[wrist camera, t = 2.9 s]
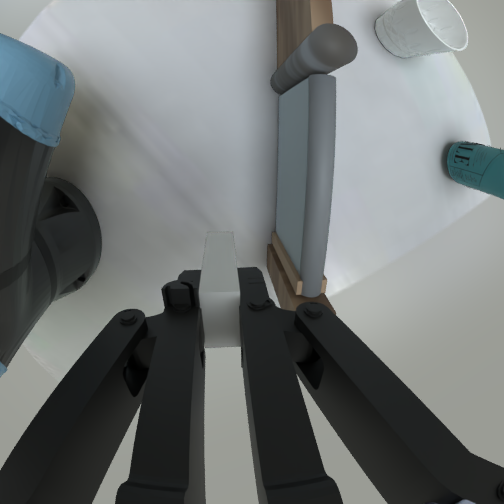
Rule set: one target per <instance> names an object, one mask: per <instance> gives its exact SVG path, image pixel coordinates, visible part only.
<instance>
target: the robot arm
mask: <svg viewBox="0 0 504 504" xmlns="http://www.w3.org/2000/svg"><path fill="white" fill-rule="evenodd" d="M74 91H75V80H74V77H73V74H72V72H71V71H70V70H69V69H68V67H66V66H65V65H64V64H62V63H61V62H59V61H57V60H56V59H54V58H52V57H51V56H49V55H47V54H45V53H43V52H41V51H39V50H37V49H35V48H33V47H31V46H29V45H27V44H25V43H23V42H20V41H18V40H16V39H13V38H11V37H9V36H6V35H4V34H1V33H0V377H1V376H2V375H3V373H5V372H6V371H7V366H8V365H9V363H10V361H11V360H12V358H13V357H14V355H15V354H16V352H17V350H18V349H19V347H20V346H21V344H22V343H23V341H24V340H25V338H26V337H27V335H28V334H29V333H30V331H31V330H32V328H33V327H34V325H35V324H36V323H37V321H38V320H39V319H40V317H41V316H42V314H43V313H44V312H45V310H46V309H47V308H48V307H49V305H50V304H51V303H52V302H53V301H55V300H58V299H60V298H62V297H64V296H66V295H68V294H70V293H73V292H75V291H77V290H78V289H79V288H81V287H82V286H83V285H84V284H85V283H86V282H87V281H88V279H89V278H90V277H91V275H92V274H93V273H94V271H95V270H96V268H97V265H98V263H99V260H100V255H101V233H100V228H99V224H98V221H97V218H96V215H95V213H94V211H93V209H92V207H91V205H90V203H89V202H88V200H87V199H86V198H85V196H84V195H83V194H82V193H81V192H80V191H79V190H78V189H77V188H76V187H75V186H73V185H72V184H70V183H69V182H67V181H65V180H62V179H59V178H53V177H49V178H45V177H46V173H47V170H48V167H49V163H50V160H51V157H52V154H53V151H54V148H55V147H56V146H58V145H59V142H60V139H61V138H60V131H61V128H62V125H63V122H64V119H65V117H66V114H67V111H68V108H69V106H70V103H71V101H72V98H73V95H74ZM161 290H162V295H163V301H164V306H165V309H164V312H163V313H161V314H158V315H155V316H150V317H145V314H144V313H143V312H142V311H141V310H138V309H126V310H123V311H121V312H119V313H117V314H116V315H115V316H114V317H113V318H112V319H111V320H110V322H109V323H108V324H107V325H106V326H105V327H104V329H103V330H102V331H101V332H100V333H99V335H98V336H97V337H96V338H95V339H94V341H93V342H92V343H91V344H90V345H89V347H88V348H87V349H86V350H85V351H84V353H83V354H82V355H81V356H80V358H79V359H78V360H77V361H76V363H75V364H74V365H73V366H72V368H71V369H70V370H69V372H68V373H67V374H66V375H65V377H64V378H63V379H62V381H61V382H60V383H59V384H58V386H57V387H56V388H55V390H54V391H53V392H52V394H51V395H50V397H49V398H48V399H47V401H46V402H45V403H44V405H43V406H42V407H41V409H40V410H39V412H38V413H37V415H36V416H35V417H34V419H33V420H32V422H31V423H30V425H29V426H28V427H27V429H26V430H25V432H24V433H23V435H22V436H21V438H20V440H19V441H18V443H17V444H16V446H15V447H14V449H13V450H12V452H11V454H10V455H9V457H8V458H7V460H6V462H5V464H4V465H3V467H2V468H1V470H0V504H92V502H93V500H94V498H95V496H96V493H97V491H98V489H99V487H100V485H101V483H102V481H103V479H104V477H105V474H106V472H107V470H108V468H109V466H110V464H111V462H112V460H113V458H114V456H115V454H116V452H117V450H118V448H119V445H120V444H121V442H122V439H123V438H124V436H125V434H126V432H127V429H128V428H129V426H130V423H131V422H132V420H133V418H134V416H135V414H136V412H137V410H138V408H139V406H140V404H141V408H140V413H139V419H138V424H137V430H136V435H135V441H134V447H133V454H132V460H131V467H130V474H129V478H128V480H127V481H126V482H124V483H122V484H121V485H120V487H119V488H118V491H117V495H116V501H115V504H206V499H205V468H204V467H205V466H204V392H205V391H204V389H205V350H204V342H205V348H215V347H240V346H241V365H242V366H241V367H242V368H243V377H244V386H245V396H246V405H247V414H248V423H249V431H250V439H251V448H252V456H253V463H254V471H255V479H256V486H257V494H258V500H259V504H343V502H342V498H341V495H340V492H339V489H338V487H337V484H336V483H335V481H334V480H333V479H332V478H331V477H329V476H328V475H327V474H326V472H325V470H324V467H323V464H322V460H321V456H320V453H319V450H318V446H317V443H316V439H315V436H314V433H313V429H312V426H311V422H310V419H309V415H308V412H307V409H306V405H305V402H304V398H303V395H302V392H301V388H300V385H299V382H298V378H297V375H298V377H299V378H300V380H301V381H302V383H303V384H304V386H305V387H306V389H307V390H308V392H309V393H310V395H311V396H312V398H313V399H314V401H315V402H316V404H317V405H318V407H319V408H320V410H321V411H322V413H323V414H324V415H325V417H326V418H327V420H328V421H329V423H330V424H331V426H332V427H333V429H334V430H335V431H336V433H337V434H338V436H339V437H340V438H341V440H342V442H343V443H344V444H345V446H346V447H347V448H348V450H349V451H350V453H351V454H352V456H353V457H354V458H355V460H356V461H357V463H358V464H359V465H360V467H361V468H362V470H363V471H364V472H365V474H366V475H367V476H368V478H369V479H370V481H371V482H372V483H373V485H374V486H375V487H376V489H377V490H378V491H379V493H380V494H381V495H382V497H383V498H384V499H385V501H386V502H387V503H388V504H504V468H503V467H501V466H498V465H496V464H494V463H492V462H489V461H487V460H485V459H483V458H481V457H478V456H476V455H474V454H472V453H470V452H469V451H468V450H467V449H466V447H465V446H464V445H463V444H462V443H461V442H460V441H459V440H458V439H457V438H456V437H455V436H454V435H453V434H452V433H451V432H450V430H449V429H448V428H447V427H446V426H445V425H444V424H443V423H442V422H441V421H440V420H439V419H438V418H437V417H436V416H435V415H434V414H433V413H432V412H431V411H430V410H429V409H428V408H427V407H426V406H425V404H424V403H423V402H422V401H421V400H420V399H419V398H418V397H417V396H416V395H415V394H414V393H413V392H412V391H411V390H410V389H409V388H408V387H407V386H406V385H405V384H404V383H403V382H402V381H401V380H400V379H399V378H398V377H397V376H396V375H395V374H394V373H393V372H392V371H391V370H390V369H389V368H388V367H387V366H386V365H385V364H384V363H383V362H382V361H381V360H380V359H379V358H378V357H377V356H376V355H375V354H374V353H373V352H372V351H371V350H370V349H369V348H368V347H367V345H366V344H365V343H364V342H362V340H361V339H360V338H359V337H358V336H357V335H355V334H354V333H353V332H352V331H351V330H350V329H349V328H348V327H347V326H346V325H345V324H344V323H343V322H342V321H341V320H340V319H339V318H338V317H337V316H336V315H335V314H334V313H333V312H332V311H331V310H330V309H329V308H328V307H327V306H325V305H324V304H321V303H318V302H304V303H302V304H299V305H298V306H297V307H296V311H291V310H285V309H281V308H278V307H276V305H275V303H274V301H273V300H272V299H270V298H269V295H268V291H267V288H266V284H265V281H264V277H263V274H262V272H261V271H260V270H259V269H258V268H257V267H247V268H237V262H236V254H235V245H234V236H233V232H207V237H206V243H205V250H204V257H203V264H202V270H184V271H183V272H182V273H181V274H180V275H179V277H178V280H176V281H172V282H169V283H167V284H166V285H164V286H163V288H162V289H161ZM296 374H297V375H296ZM141 402H142V403H141Z"/></svg>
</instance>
